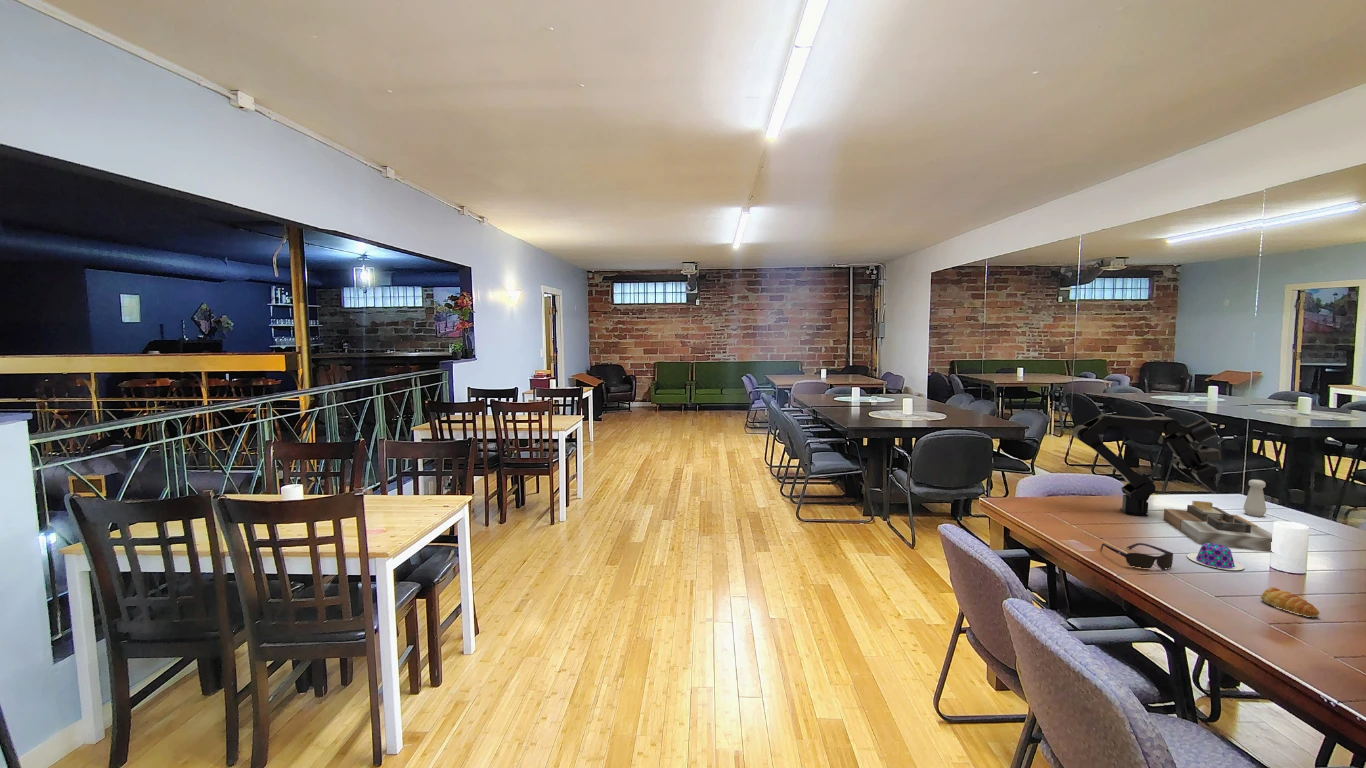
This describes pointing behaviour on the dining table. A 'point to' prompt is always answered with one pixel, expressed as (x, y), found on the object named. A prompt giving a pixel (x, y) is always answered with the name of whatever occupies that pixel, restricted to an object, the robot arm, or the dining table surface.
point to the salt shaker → (1255, 499)
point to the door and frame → (1219, 529)
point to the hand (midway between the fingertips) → (1208, 487)
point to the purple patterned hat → (1215, 557)
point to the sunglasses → (1145, 557)
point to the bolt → (1207, 509)
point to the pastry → (1288, 602)
